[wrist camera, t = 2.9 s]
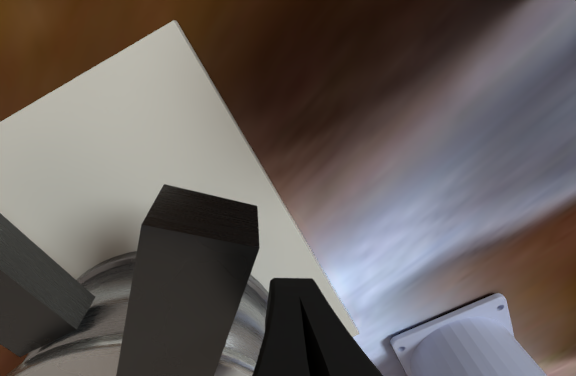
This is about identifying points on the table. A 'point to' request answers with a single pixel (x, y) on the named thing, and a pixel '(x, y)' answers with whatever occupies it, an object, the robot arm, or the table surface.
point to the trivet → (139, 162)
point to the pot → (87, 300)
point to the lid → (174, 296)
